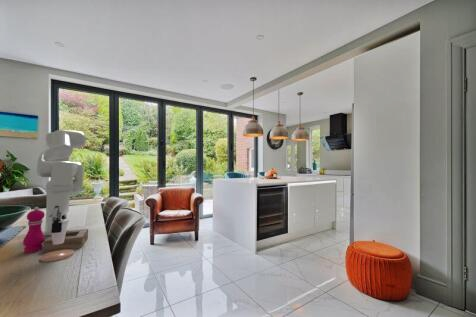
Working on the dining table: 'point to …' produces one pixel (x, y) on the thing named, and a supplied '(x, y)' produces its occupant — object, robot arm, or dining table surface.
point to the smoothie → (60, 233)
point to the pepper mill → (34, 231)
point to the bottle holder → (67, 241)
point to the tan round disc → (56, 255)
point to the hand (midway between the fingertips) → (59, 230)
